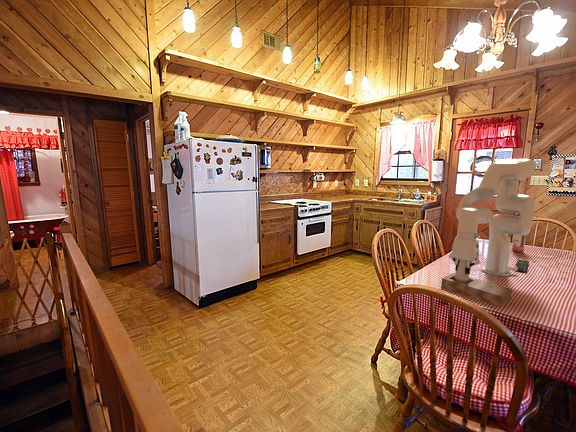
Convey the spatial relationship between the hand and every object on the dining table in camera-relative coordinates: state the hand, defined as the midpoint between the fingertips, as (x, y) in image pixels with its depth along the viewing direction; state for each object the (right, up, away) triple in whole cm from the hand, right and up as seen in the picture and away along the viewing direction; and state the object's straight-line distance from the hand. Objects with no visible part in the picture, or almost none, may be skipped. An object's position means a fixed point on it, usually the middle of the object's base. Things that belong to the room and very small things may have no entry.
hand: (462, 273), depth 134 cm
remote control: (+53, -3, +32) cm, 62 cm away
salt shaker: (0, -4, +1) cm, 4 cm away
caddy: (+4, -8, -3) cm, 9 cm away
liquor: (+73, +2, +60) cm, 95 cm away
